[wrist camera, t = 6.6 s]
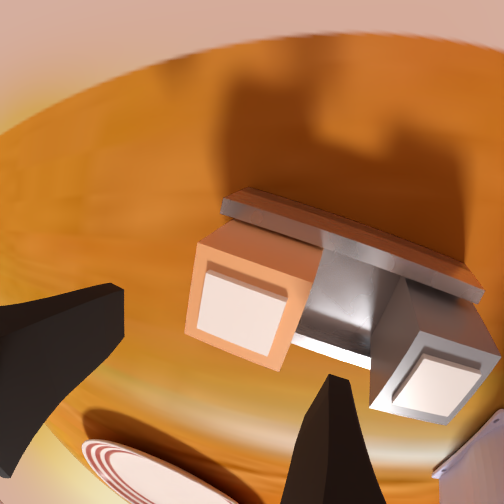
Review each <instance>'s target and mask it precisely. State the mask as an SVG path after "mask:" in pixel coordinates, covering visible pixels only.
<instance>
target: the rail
mask: <svg viewBox="0 0 504 504" xmlns="http://www.w3.org/2000/svg"><path fill="white" fill-rule="evenodd" d="M220 214H223V215H226V216H229V217H233V218H236V219H239V220H242V221H245V222H248V223H251V224H254V225H257V226H260V227H263V228H266V229H269V230H272V231H275V232H278V233H281V234H284V235H287V236H290V237H293V238H296V239H299V240H302V241H305V242H308V243H311V244H313V245H316V246H319V247H322V248H324V250H323V254H322V257H321V260H320V263H319V267H318V270H317V273H316V276H315V279H314V283H313V285H312V288H311V291H310V294H309V296H308V299H307V302H306V305H305V307H304V310H303V313H302V315H301V318H300V320H299V323H298V326H297V328H296V331H295V333H294V336H293V338H292V341H291V343H293V344H295V345H298V346H301V347H304V348H307V349H310V350H313V351H315V352H318V353H321V354H324V355H327V356H330V357H333V358H336V359H339V360H342V361H345V362H348V363H352V364H355V365H358V366H361V367H364V368H368V369H370V338H371V336H372V334H373V332H374V330H375V328H376V326H377V325H378V323H379V321H380V319H381V317H382V315H383V313H384V311H385V309H386V307H387V305H388V303H389V301H390V298H391V296H392V294H393V292H394V290H395V288H396V286H397V283H398V281H399V279H400V277H401V276H404V277H407V278H409V279H412V280H415V281H417V282H420V283H423V284H425V285H428V286H431V287H433V288H436V289H439V290H441V291H444V292H447V293H449V294H452V295H455V296H457V297H460V298H462V299H465V300H468V301H470V302H473V303H475V304H478V303H479V301H480V299H481V297H482V296H483V294H484V292H485V290H484V289H483V287H482V286H481V284H480V283H479V282H478V280H477V279H476V278H475V276H474V275H473V274H472V272H471V271H470V270H469V269H468V267H467V266H466V265H465V263H462V262H460V261H457V260H455V259H453V258H450V257H448V256H445V255H443V254H440V253H438V252H436V251H433V250H431V249H428V248H425V247H423V246H420V245H418V244H415V243H413V242H410V241H407V240H405V239H402V238H400V237H397V236H394V235H392V234H389V233H386V232H384V231H381V230H378V229H375V228H373V227H370V226H367V225H364V224H361V223H359V222H356V221H353V220H350V219H347V218H344V217H341V216H338V215H336V214H333V213H330V212H327V211H324V210H321V209H318V208H315V207H312V206H309V205H305V204H302V203H299V202H296V201H293V200H290V199H287V198H283V197H280V196H277V195H274V194H270V193H267V192H264V191H261V190H257V189H254V188H251V187H247V188H244V189H242V190H240V191H237V192H235V193H233V194H231V195H228V196H226V197H224V198H223V202H222V207H221V212H220Z"/></svg>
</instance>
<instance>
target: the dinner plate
mask: <svg viewBox="0 0 504 504" xmlns="http://www.w3.org/2000/svg"><path fill="white" fill-rule="evenodd" d="M82 452H83V455H84V457H85V459H86V460H87V462H88V463H89V465H90V466H91V467H92V469H93V470H94V471H95V472H96V473H97V474H98V476H99V477H100V478H101V479H102V480H103V481H104V482H105V483H107V484H108V485H109V486H110V487H111V488H112V489H113V490H115V491H116V492H117V493H118V494H119V495H121V496H122V497H123V498H125V499H126V500H128V501H129V502H131V503H132V504H239V503H237V502H236V501H235V500H233V499H232V498H230V497H229V496H227V495H226V494H224V493H223V492H221V491H219V490H218V489H216V488H214V487H213V486H211V485H209V484H208V483H206V482H204V481H203V480H201V479H199V478H198V477H196V476H194V475H192V474H190V473H189V472H187V471H185V470H183V469H181V468H179V467H177V466H175V465H173V464H171V463H168V462H166V461H164V460H162V459H159V458H157V457H154V456H152V455H149V454H147V453H145V452H142V451H140V450H137V449H134V448H131V447H128V446H126V445H122V444H119V443H116V442H112V441H107V440H101V439H90V440H86V441H85V442H84V443H83V444H82Z"/></svg>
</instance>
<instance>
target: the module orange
mask: <svg viewBox="0 0 504 504" xmlns="http://www.w3.org/2000/svg"><path fill="white" fill-rule="evenodd" d="M323 250H324V248H322V247H319V246H316V245H313V244H311V243H308V242H305V241H302V240H299V239H296V238H293V237H290V236H287V235H284V234H281V233H278V232H275V231H272V230H269V229H266V228H263V227H260V226H257V225H254V224H251V223H248V222H245V221H242V220H239V219H236V218H234V219H232V220H231V221H229V222H228V223H226V224H225V225H223V226H222V227H220V228H219V229H217V230H216V231H214V232H213V233H211V234H210V235H208V236H207V237H205V238H204V239H202V240H201V241H199V242H198V244H197V250H196V256H195V262H194V269H193V275H192V282H191V289H190V296H189V303H188V310H187V317H186V325H185V332H184V333H185V334H187V335H189V336H191V337H194V338H196V339H198V340H200V341H203V342H205V343H207V344H210V345H212V346H214V347H217V348H219V349H221V350H224V351H226V352H229V353H231V354H234V355H236V356H239V357H241V358H244V359H246V360H249V361H251V362H254V363H256V364H259V365H262V366H264V367H267V368H270V369H272V370H275V371H278V372H279V371H280V368H281V366H282V363H283V361H284V358H285V356H286V354H287V351H288V349H289V346H290V344H291V341H292V338H293V336H294V333H295V331H296V328H297V326H298V323H299V320H300V318H301V315H302V313H303V310H304V307H305V305H306V302H307V299H308V296H309V294H310V291H311V288H312V285H313V283H314V279H315V276H316V273H317V270H318V267H319V263H320V260H321V257H322V254H323Z"/></svg>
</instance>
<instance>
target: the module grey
mask: <svg viewBox="0 0 504 504" xmlns="http://www.w3.org/2000/svg"><path fill="white" fill-rule="evenodd" d="M500 358H501V355H500V353H499V351H498V349H497V347H496V345H495V343H494V341H493V339H492V337H491V335H490V333H489V332H488V330H487V328H486V326H485V324H484V322H483V321H482V319H481V317H480V315H479V314H478V312H477V310H476V308H475V307H474V305H473V303H472V302H470V301H468V300H465V299H462V298H460V297H457V296H455V295H452V294H449V293H447V292H444V291H441V290H439V289H436V288H433V287H431V286H428V285H425V284H423V283H420V282H417V281H415V280H412V279H409V278H407V277H404V276H401V277H400V279H399V281H398V283H397V286H396V288H395V290H394V292H393V294H392V296H391V298H390V301H389V303H388V305H387V307H386V309H385V311H384V313H383V315H382V317H381V319H380V321H379V323H378V325H377V326H376V328H375V330H374V332H373V334H372V336H371V338H370V398H369V408H372V409H376V410H380V411H384V412H388V413H392V414H396V415H400V416H404V417H408V418H413V419H417V420H422V421H426V422H431V423H436V424H441V425H447V424H448V423H449V422H450V421H451V420H452V419H453V418H454V417H455V415H456V414H457V413H458V412H459V411H460V410H461V409H462V407H463V406H464V405H465V404H466V403H467V402H468V400H469V399H470V398H471V397H472V396H473V394H474V393H475V392H476V391H477V389H478V388H479V387H480V386H481V384H482V383H483V382H484V380H485V379H486V378H487V376H488V375H489V374H490V372H491V371H492V370H493V368H494V367H495V365H496V364H497V363H498V361H499V360H500Z"/></svg>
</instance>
